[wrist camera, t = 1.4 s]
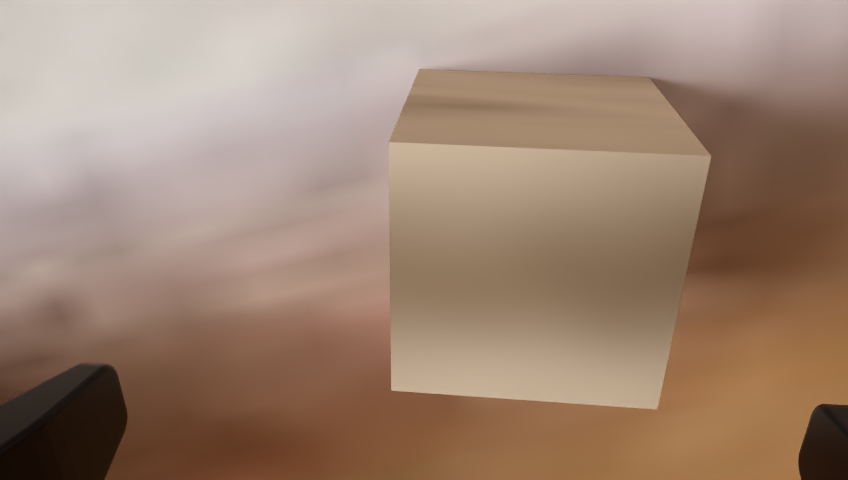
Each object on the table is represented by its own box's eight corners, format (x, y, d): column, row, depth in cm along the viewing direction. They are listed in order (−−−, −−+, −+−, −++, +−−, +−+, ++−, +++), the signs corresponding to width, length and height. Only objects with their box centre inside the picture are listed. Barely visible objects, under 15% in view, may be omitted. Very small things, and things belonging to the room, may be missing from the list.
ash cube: (616, 275, 21) (657, 409, 16) (417, 264, 21) (391, 390, 16) (648, 76, 18) (711, 155, 13) (419, 68, 19) (388, 142, 13)
